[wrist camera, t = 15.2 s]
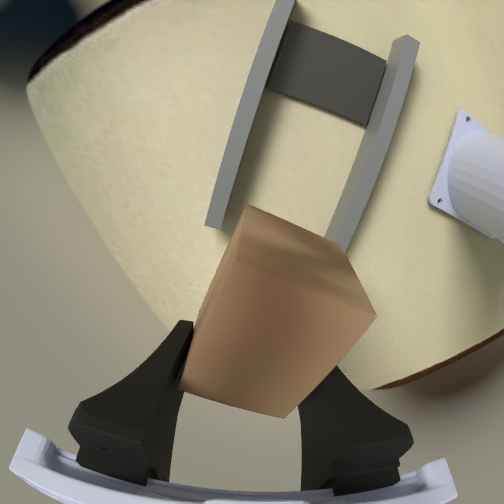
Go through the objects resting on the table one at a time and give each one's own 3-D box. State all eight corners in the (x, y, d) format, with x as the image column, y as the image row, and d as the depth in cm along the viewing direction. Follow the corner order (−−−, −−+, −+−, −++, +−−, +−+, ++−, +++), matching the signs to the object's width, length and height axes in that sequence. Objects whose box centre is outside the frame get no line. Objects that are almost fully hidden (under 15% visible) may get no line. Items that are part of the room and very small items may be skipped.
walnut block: (340, 245, 12) (377, 316, 8) (280, 339, 15) (283, 418, 10) (246, 203, 12) (235, 260, 7) (199, 310, 14) (176, 388, 10)
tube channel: (405, 47, 14) (419, 42, 12) (332, 250, 20) (339, 263, 18) (280, -6, 13) (283, -18, 11) (209, 214, 19) (204, 225, 17)
